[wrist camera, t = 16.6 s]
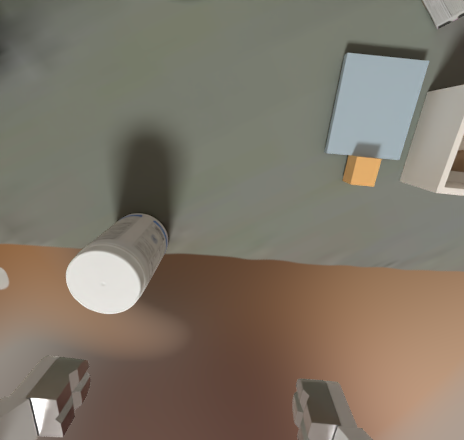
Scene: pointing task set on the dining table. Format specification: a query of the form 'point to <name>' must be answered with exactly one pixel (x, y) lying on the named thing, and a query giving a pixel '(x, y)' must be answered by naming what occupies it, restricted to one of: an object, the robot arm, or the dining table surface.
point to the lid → (373, 112)
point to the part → (458, 162)
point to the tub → (437, 143)
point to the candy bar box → (444, 11)
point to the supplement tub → (118, 264)
